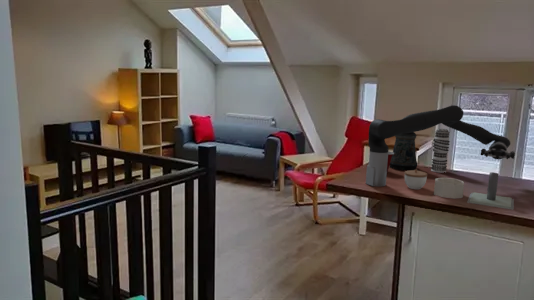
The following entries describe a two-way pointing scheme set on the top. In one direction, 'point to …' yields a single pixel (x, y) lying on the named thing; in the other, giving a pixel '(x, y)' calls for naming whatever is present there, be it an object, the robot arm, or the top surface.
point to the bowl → (449, 188)
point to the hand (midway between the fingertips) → (497, 155)
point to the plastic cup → (389, 159)
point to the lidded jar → (415, 179)
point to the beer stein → (404, 152)
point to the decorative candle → (440, 150)
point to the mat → (493, 206)
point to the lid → (491, 194)
